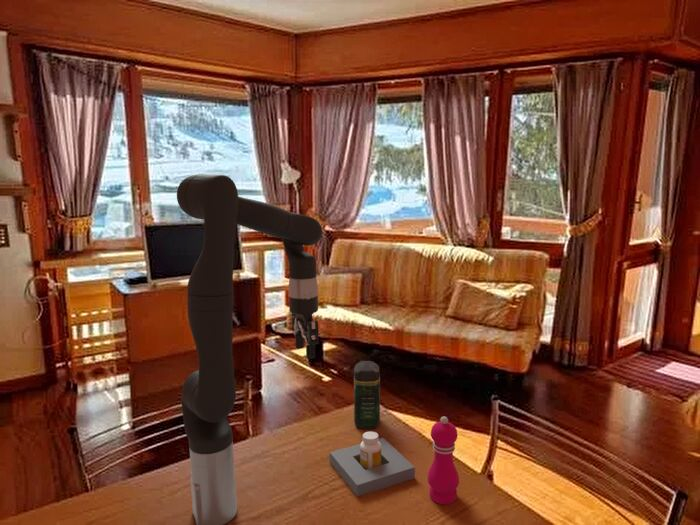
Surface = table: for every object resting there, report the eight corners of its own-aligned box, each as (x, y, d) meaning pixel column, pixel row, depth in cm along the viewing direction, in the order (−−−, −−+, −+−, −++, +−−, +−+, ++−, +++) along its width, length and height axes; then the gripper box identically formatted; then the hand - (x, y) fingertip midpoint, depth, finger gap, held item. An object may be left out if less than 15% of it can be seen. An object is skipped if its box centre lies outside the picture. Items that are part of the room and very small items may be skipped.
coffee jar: (380, 429, 150) (380, 370, 147) (354, 430, 150) (353, 370, 147) (379, 414, 160) (379, 358, 156) (354, 414, 160) (353, 358, 157)
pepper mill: (435, 508, 115) (436, 426, 111) (422, 489, 122) (423, 411, 118) (464, 502, 117) (466, 421, 113) (450, 484, 123) (451, 407, 120)
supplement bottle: (381, 464, 132) (381, 430, 131) (380, 476, 127) (380, 441, 125) (361, 463, 133) (360, 429, 131) (359, 475, 128) (358, 440, 126)
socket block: (357, 496, 119) (357, 485, 119) (329, 462, 134) (329, 452, 133) (414, 478, 126) (414, 467, 126) (382, 447, 140) (382, 437, 140)
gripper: (281, 290, 137) (283, 347, 140) (298, 301, 124) (300, 364, 127) (307, 287, 140) (308, 343, 143) (327, 298, 128) (328, 359, 130)
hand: (305, 353), depth 135 cm, fingers open, 8 cm apart
